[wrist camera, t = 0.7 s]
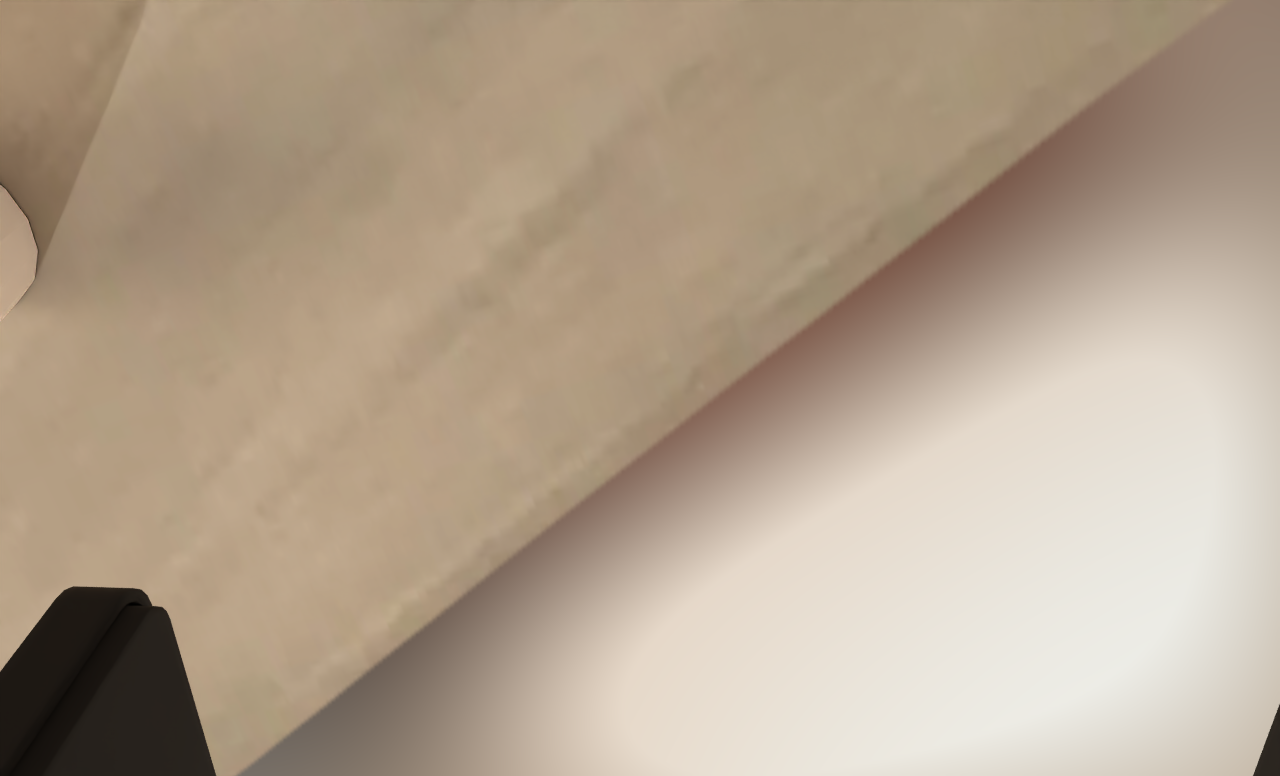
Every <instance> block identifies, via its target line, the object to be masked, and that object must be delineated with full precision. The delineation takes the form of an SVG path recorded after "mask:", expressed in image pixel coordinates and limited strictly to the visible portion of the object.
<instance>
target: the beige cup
mask: <svg viewBox="0 0 1280 776" xmlns="http://www.w3.org/2000/svg"><path fill="white" fill-rule="evenodd" d="M37 255H38V250H37V246H36V243H35V240H34V237H33V234H32V231H31V228H30V224H29V221H28V219H27V217H26V216H25V215H24V213H23V212H22V211H21V209H20V208H19V207H18V205H17V204H16V202H15V201H14V200H13V198H12V197H11V196H10V194H9V193H8V192H7V190H6V189H5V188H4V187H2V186H1V185H0V321H1V320H2V319H3V318H4V317H5V316H6V315H7V313H8V312H9V311H10V310H11V309H12V308H13V307H14V306H15V305H16V304H17V302H18V301H19V300H20V299H21V297H22V296H23V295H24V293H25V292H26V291H27V289H28V288H29V287H30V285H31V284H32V282H33V281H34V280H35V272H36V263H37Z"/></svg>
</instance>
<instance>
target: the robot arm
mask: <svg viewBox="0 0 1280 776" xmlns="http://www.w3.org/2000/svg"><path fill="white" fill-rule="evenodd" d="M0 776H216V774H215V770H214V767H213V763H212V760H211V757H210V753H209V750H208V746H207V743H206V740H205V736H204V733H203V729H202V726H201V723H200V719H199V716H198V712H197V709H196V706H195V702H194V699H193V695H192V692H191V689H190V685H189V682H188V678H187V675H186V671H185V668H184V665H183V661H182V658H181V654H180V651H179V648H178V644H177V641H176V637H175V634H174V631H173V627H172V624H171V620H170V618H169V615H168V613H167V611H166V610H165V609H164V608H163V607H158V606H152V604H151V602H150V600H149V598H148V595H146V594H145V593H144V592H143V591H142V590H140V589H135V588H106V587H74V586H73V587H71V588H68V589H66V590H64V591H63V592H62V593H61V594H60V595H59V596H58V597H57V598H56V599H55V600H54V602H53V603H52V604H51V606H50V607H49V608H48V610H47V611H46V612H45V614H44V615H43V616H42V618H41V619H40V620H39V622H38V623H37V624H36V625H35V627H34V628H33V629H32V631H31V632H30V633H29V635H28V636H27V637H26V639H25V640H24V641H23V643H22V644H21V645H20V647H19V648H18V649H17V650H16V652H15V653H14V654H13V656H12V657H11V658H10V660H9V661H8V662H7V664H6V665H5V666H4V668H3V669H2V670H1V671H0ZM1253 776H1280V705H1279V708H1278V710H1277V713H1276V715H1275V718H1274V721H1273V724H1272V726H1271V729H1270V732H1269V734H1268V737H1267V740H1266V742H1265V745H1264V748H1263V751H1262V753H1261V756H1260V759H1259V761H1258V764H1257V767H1256V769H1255V772H1254V775H1253Z"/></svg>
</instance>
